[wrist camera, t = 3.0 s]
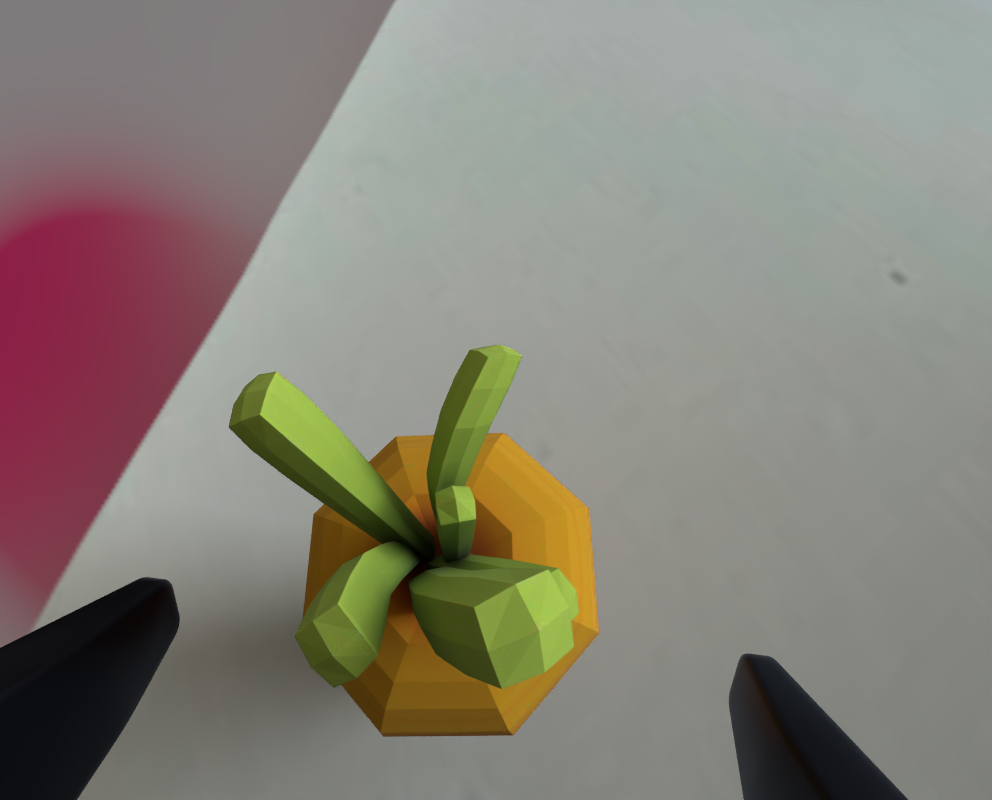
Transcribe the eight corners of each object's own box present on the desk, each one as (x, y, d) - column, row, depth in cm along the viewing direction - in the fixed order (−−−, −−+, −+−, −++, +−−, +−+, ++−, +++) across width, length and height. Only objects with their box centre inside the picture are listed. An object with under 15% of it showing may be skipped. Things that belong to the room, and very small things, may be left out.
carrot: (393, 560, 19) (37, 381, 5) (527, 500, 20) (527, 193, 6) (447, 713, 17) (124, 1064, 3) (592, 643, 18) (825, 701, 4)
